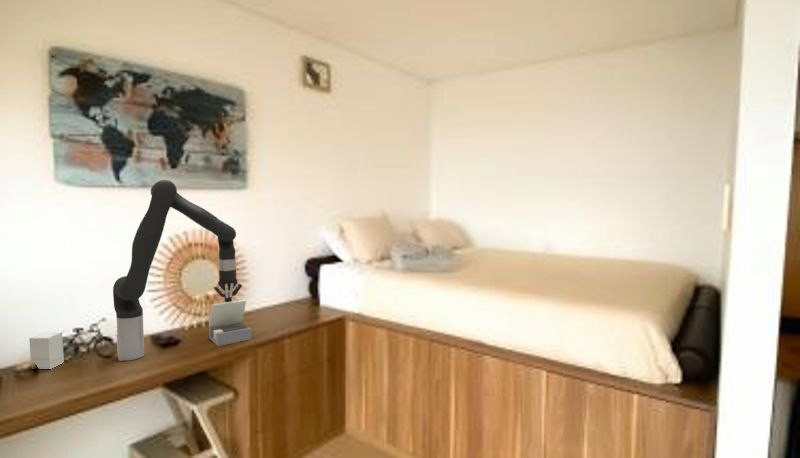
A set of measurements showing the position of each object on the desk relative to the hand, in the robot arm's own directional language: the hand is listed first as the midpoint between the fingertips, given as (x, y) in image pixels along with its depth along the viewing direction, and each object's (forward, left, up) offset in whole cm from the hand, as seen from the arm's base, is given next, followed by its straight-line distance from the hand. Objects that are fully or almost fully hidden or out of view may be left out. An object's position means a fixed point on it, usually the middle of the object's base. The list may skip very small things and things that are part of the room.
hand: (228, 305), depth 205 cm
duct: (0, -3, -15) cm, 16 cm away
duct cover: (0, +1, -4) cm, 4 cm away
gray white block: (0, -3, -15) cm, 15 cm away
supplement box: (-67, +5, -16) cm, 69 cm away
